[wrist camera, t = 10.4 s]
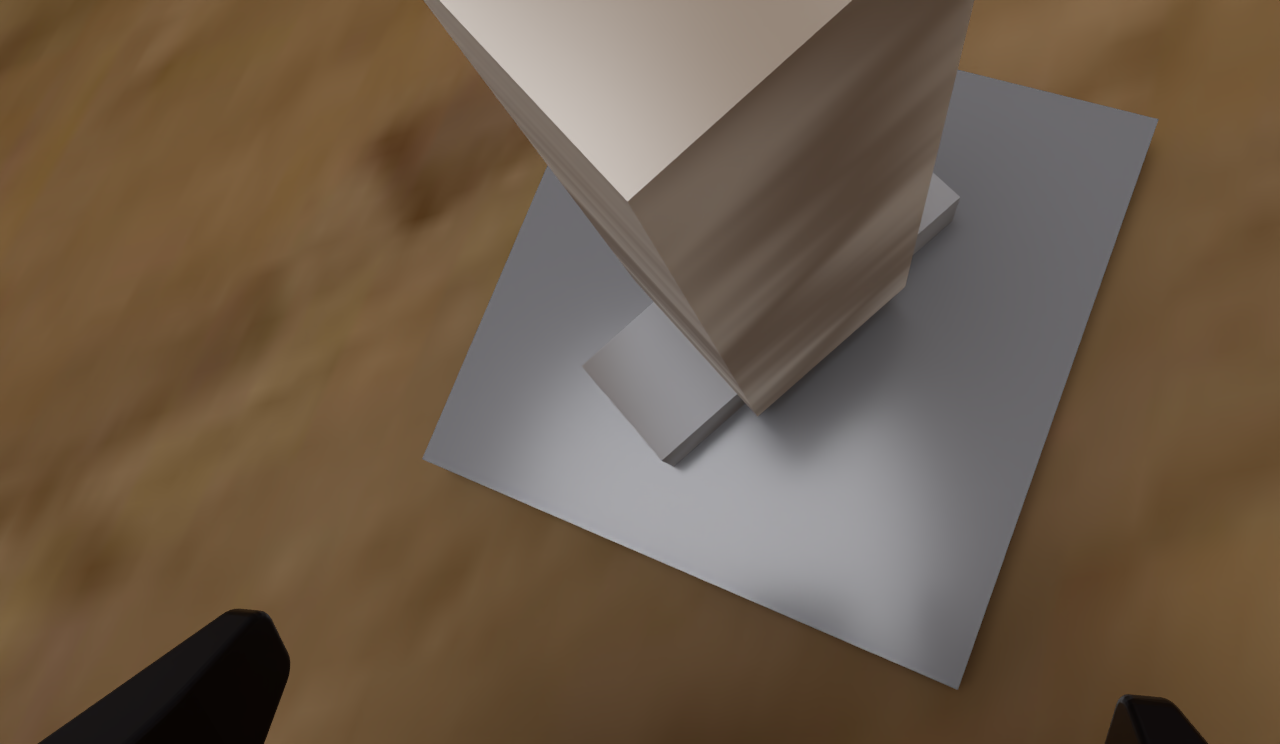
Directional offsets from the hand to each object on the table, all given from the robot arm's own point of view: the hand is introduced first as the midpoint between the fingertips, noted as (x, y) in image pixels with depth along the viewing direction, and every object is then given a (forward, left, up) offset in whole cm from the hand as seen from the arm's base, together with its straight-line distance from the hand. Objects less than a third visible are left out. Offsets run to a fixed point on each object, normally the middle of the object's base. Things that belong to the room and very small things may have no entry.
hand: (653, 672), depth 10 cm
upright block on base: (+7, +2, -12) cm, 14 cm away
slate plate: (+7, +2, -14) cm, 15 cm away
